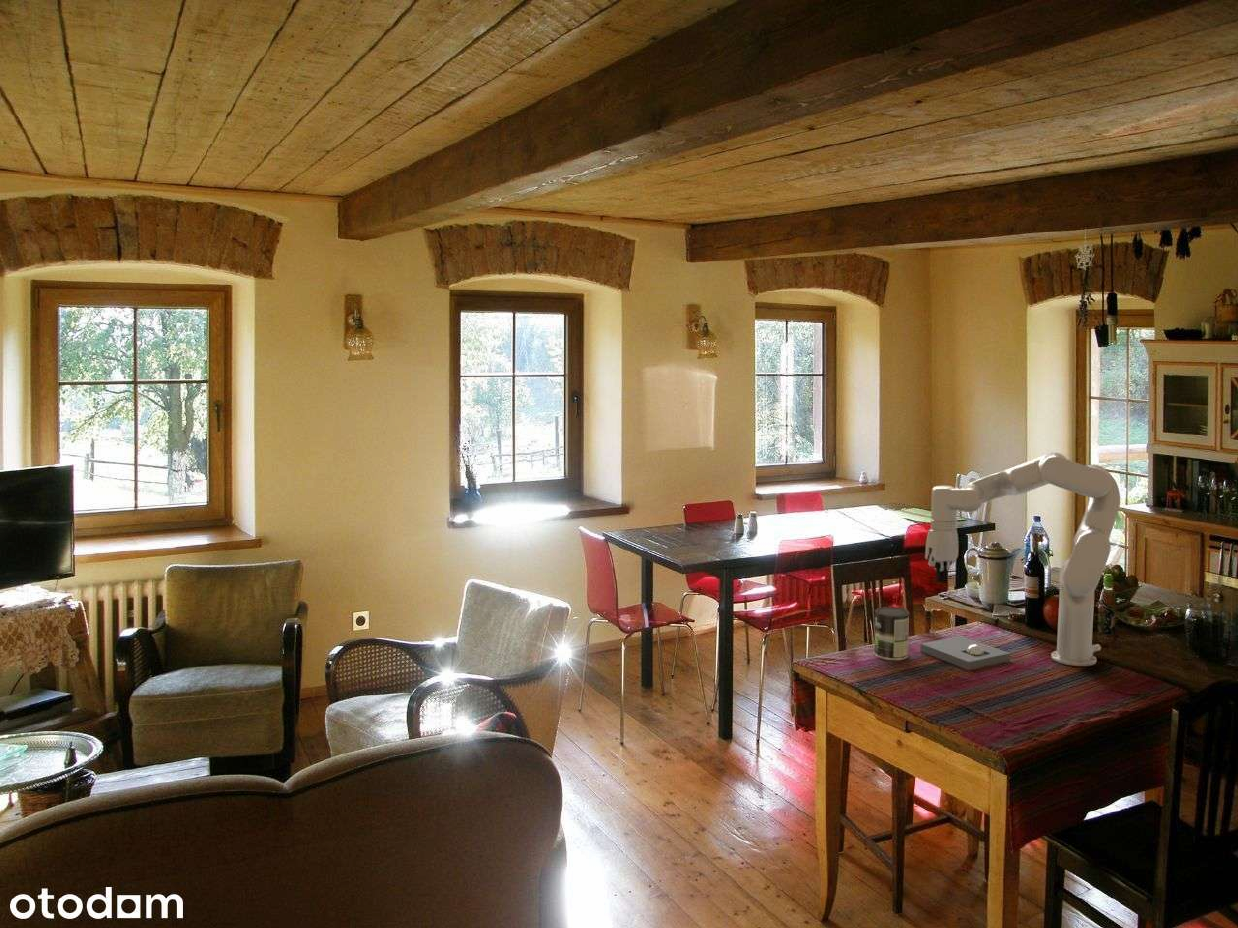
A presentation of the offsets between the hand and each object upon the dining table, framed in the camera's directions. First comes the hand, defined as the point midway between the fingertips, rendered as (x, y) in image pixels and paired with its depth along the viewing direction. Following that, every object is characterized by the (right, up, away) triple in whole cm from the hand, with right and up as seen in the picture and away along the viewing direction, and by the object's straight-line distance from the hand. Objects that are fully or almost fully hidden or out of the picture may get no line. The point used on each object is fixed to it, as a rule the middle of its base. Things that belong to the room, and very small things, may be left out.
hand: (941, 582), depth 318 cm
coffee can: (-17, -22, -5) cm, 29 cm away
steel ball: (+7, -20, -11) cm, 24 cm away
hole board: (+5, -22, -6) cm, 24 cm away
